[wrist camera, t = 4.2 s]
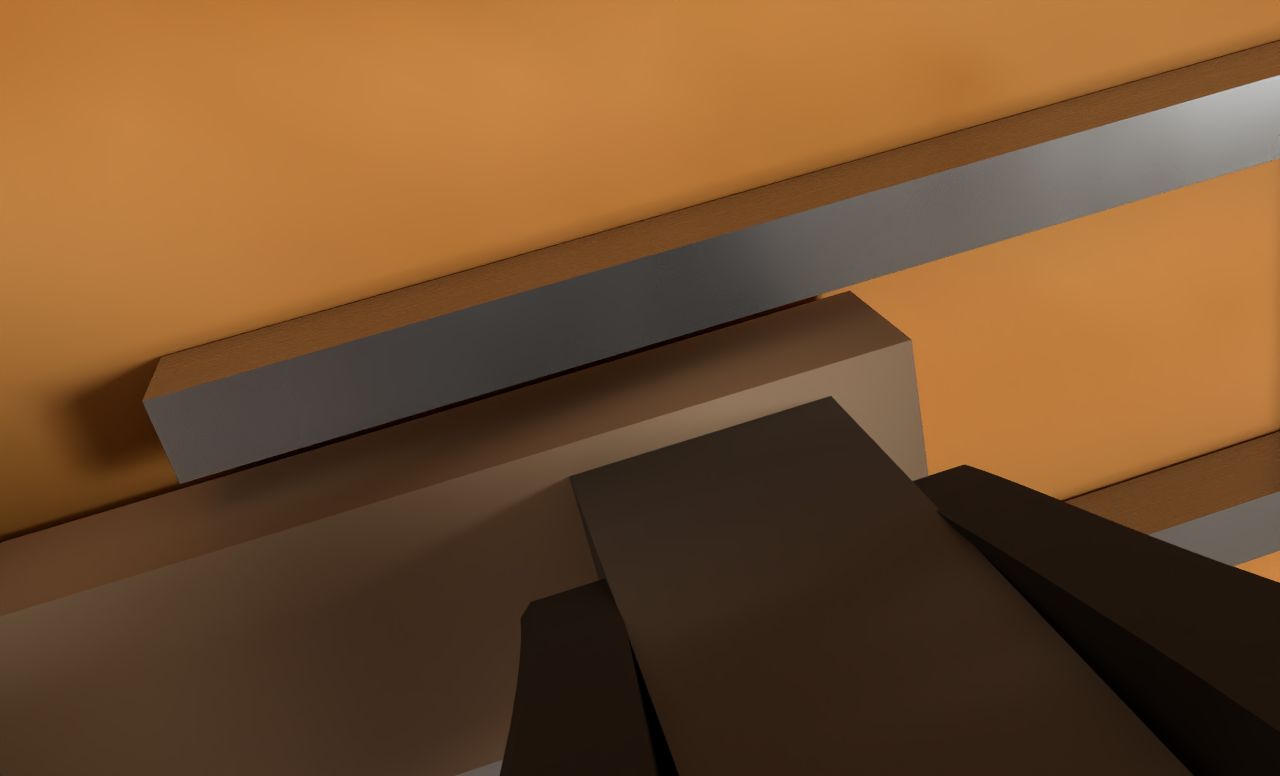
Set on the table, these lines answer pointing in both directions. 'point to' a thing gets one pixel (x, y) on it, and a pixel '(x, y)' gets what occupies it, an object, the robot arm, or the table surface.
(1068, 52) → the table surface
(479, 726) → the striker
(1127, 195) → the track
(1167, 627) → the robot arm
